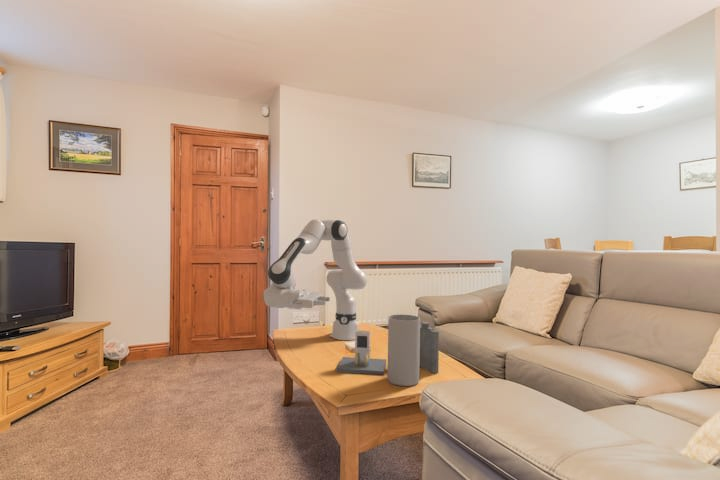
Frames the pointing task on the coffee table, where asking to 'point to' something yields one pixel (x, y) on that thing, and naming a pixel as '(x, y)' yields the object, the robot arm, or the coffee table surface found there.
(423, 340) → the hip flask
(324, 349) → the coffee table surface
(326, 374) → the coffee table surface
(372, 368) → the pin tray
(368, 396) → the coffee table surface
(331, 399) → the coffee table surface
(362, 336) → the drive
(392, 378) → the cylinder vase
